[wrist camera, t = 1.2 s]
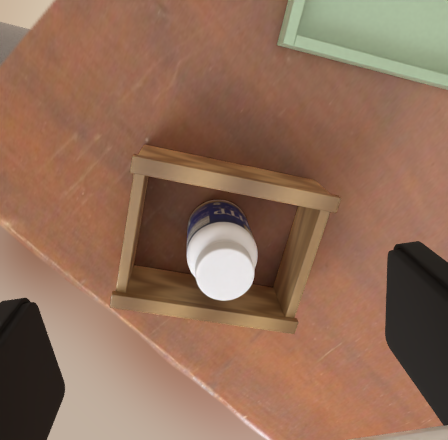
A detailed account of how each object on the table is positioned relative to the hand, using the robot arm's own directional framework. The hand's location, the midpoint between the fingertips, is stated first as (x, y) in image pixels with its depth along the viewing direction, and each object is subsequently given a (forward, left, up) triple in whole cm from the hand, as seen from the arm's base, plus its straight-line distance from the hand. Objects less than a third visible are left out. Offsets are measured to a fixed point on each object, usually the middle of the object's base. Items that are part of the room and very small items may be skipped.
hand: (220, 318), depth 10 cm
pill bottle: (+3, -6, -23) cm, 24 cm away
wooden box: (+3, -6, -23) cm, 24 cm away
